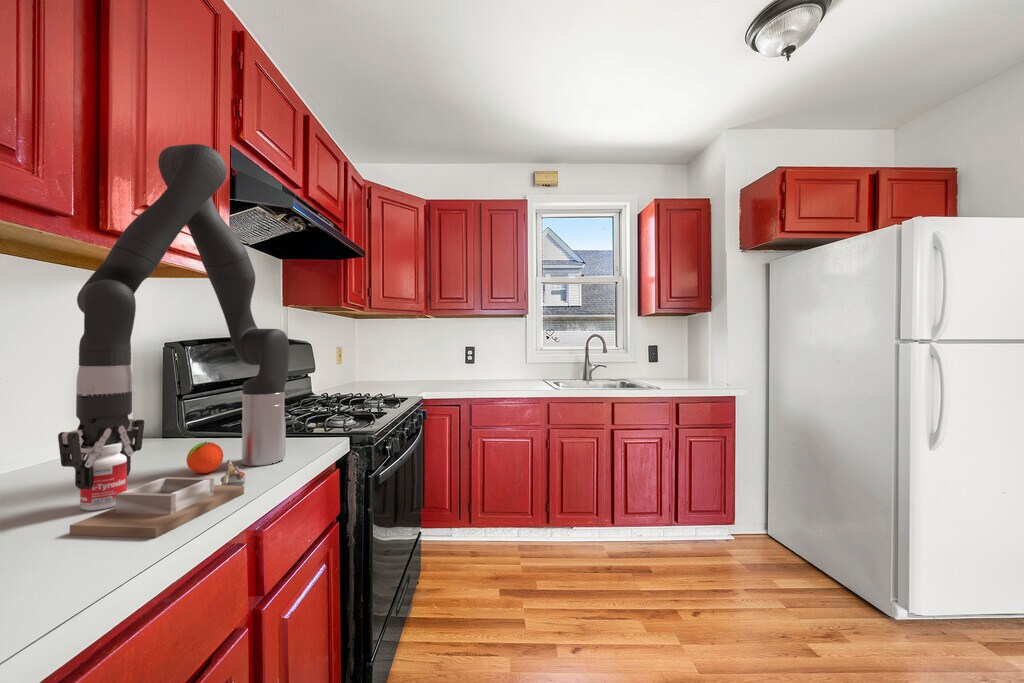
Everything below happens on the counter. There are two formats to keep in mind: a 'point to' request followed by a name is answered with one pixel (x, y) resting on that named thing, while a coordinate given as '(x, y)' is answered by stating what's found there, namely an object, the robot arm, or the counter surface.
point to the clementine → (204, 457)
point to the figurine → (233, 476)
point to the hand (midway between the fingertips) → (104, 482)
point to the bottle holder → (157, 507)
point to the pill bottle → (105, 479)
